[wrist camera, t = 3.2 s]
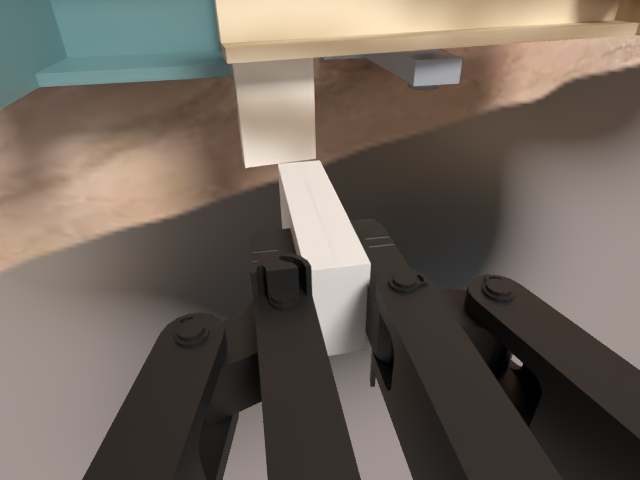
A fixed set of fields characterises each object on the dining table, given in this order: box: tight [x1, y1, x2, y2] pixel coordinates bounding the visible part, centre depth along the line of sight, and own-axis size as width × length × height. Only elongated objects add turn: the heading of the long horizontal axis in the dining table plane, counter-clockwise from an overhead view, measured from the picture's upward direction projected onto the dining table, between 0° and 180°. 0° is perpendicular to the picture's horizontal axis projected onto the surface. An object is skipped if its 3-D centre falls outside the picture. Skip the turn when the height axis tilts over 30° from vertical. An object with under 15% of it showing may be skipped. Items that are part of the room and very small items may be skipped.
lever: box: [214, 0, 640, 168], centre depth 25 cm, size 14×27×4 cm, turn 91°
